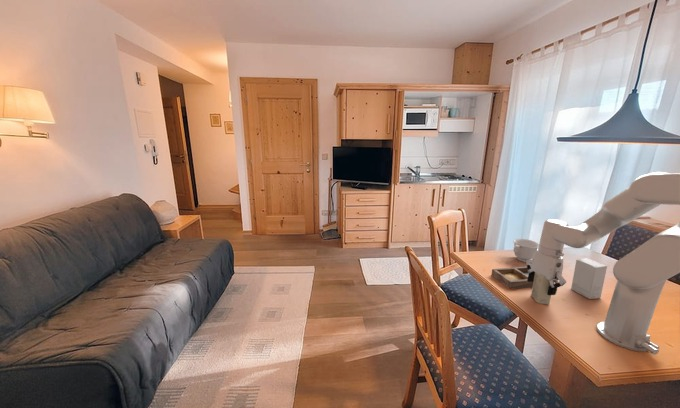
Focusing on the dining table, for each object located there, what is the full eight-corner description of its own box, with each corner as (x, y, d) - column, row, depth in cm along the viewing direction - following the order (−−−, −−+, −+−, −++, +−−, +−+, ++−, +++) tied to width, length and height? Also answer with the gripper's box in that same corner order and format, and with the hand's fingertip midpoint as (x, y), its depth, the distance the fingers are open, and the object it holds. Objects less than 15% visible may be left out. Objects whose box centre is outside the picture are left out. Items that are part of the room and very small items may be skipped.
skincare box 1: (549, 304, 108) (555, 277, 104) (537, 303, 108) (543, 276, 105) (541, 295, 114) (547, 270, 110) (530, 294, 114) (535, 269, 111)
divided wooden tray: (553, 284, 122) (555, 278, 121) (509, 288, 119) (511, 282, 118) (532, 271, 133) (533, 265, 132) (491, 275, 130) (492, 269, 129)
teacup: (501, 258, 148) (504, 241, 145) (519, 253, 154) (522, 237, 151) (523, 267, 137) (526, 249, 135) (541, 262, 143) (545, 245, 140)
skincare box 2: (600, 298, 112) (609, 266, 108) (588, 299, 111) (596, 267, 107) (580, 287, 120) (588, 257, 116) (568, 288, 119) (576, 258, 115)
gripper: (579, 260, 98) (568, 299, 102) (539, 241, 114) (531, 276, 119) (562, 261, 97) (551, 301, 101) (523, 241, 113) (516, 277, 118)
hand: (540, 287), depth 110 cm, fingers open, 9 cm apart
